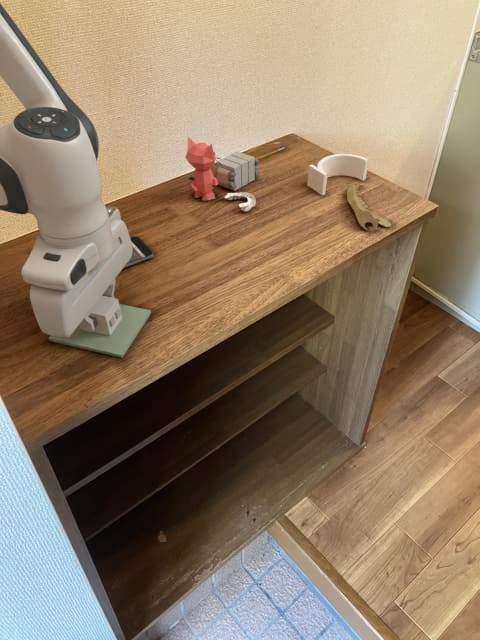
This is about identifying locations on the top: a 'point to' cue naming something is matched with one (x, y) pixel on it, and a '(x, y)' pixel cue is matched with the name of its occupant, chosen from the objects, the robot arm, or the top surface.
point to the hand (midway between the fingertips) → (99, 316)
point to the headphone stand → (336, 170)
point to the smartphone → (139, 251)
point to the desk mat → (116, 341)
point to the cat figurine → (202, 169)
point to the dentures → (240, 195)
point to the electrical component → (239, 169)
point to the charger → (106, 315)
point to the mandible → (363, 209)
